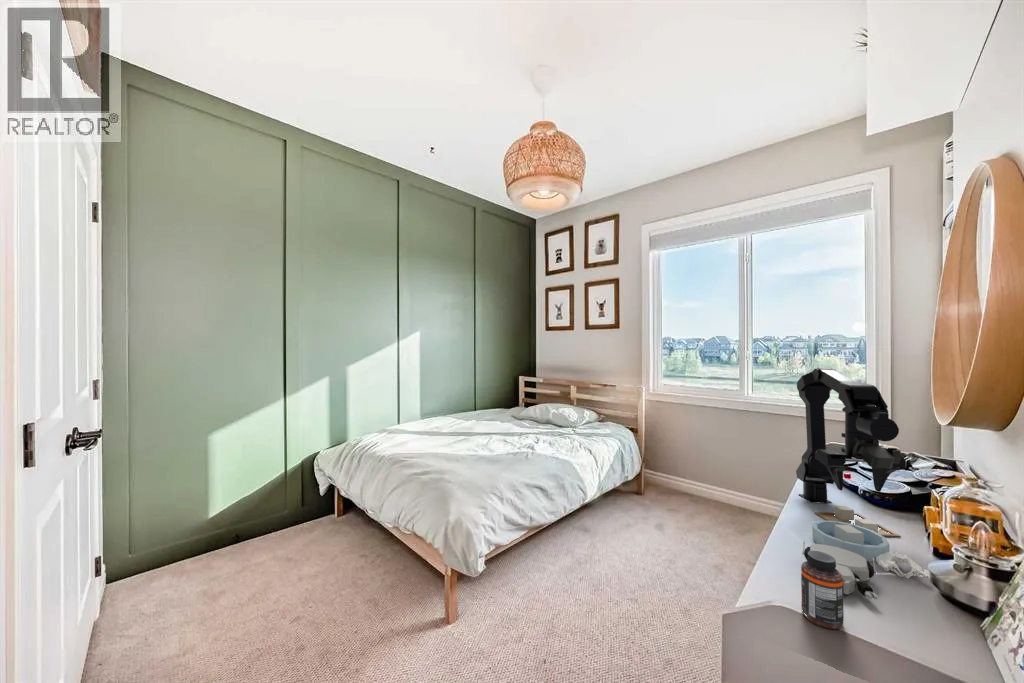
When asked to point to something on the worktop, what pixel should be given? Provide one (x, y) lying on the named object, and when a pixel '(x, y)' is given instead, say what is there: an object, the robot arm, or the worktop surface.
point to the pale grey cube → (867, 524)
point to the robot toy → (849, 568)
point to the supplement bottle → (822, 590)
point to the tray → (830, 516)
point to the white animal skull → (889, 557)
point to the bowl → (869, 550)
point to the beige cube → (848, 534)
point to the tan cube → (844, 512)
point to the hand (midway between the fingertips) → (858, 490)
